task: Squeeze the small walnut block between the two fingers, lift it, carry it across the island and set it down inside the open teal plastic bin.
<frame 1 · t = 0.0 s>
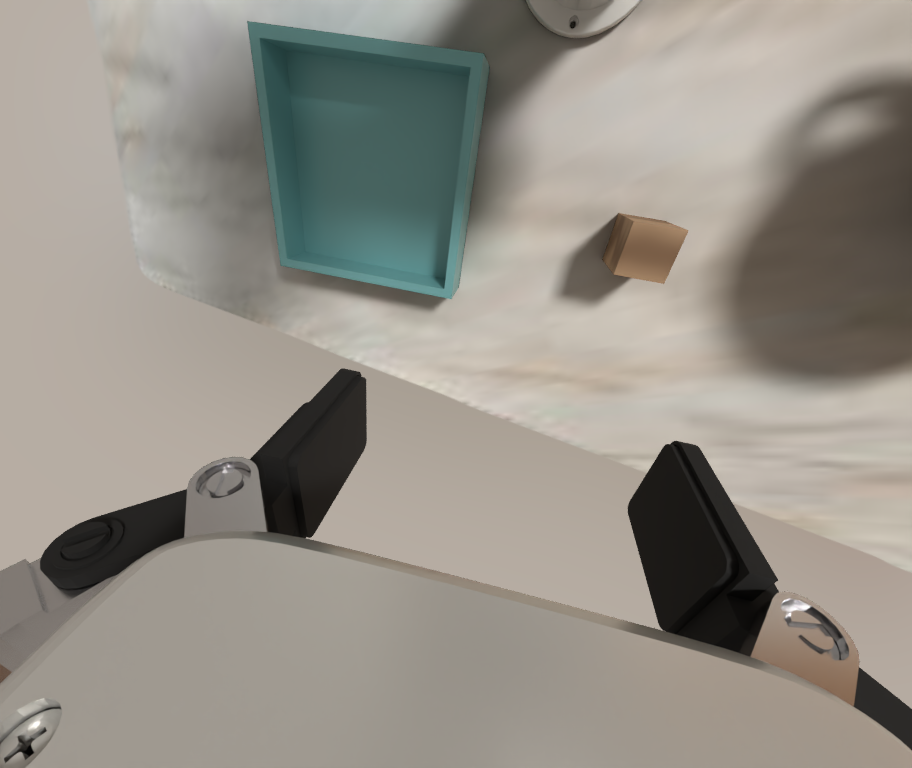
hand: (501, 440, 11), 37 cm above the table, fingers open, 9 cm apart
walnut block: (632, 240, 40), on the table
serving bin: (380, 177, 41), on the table
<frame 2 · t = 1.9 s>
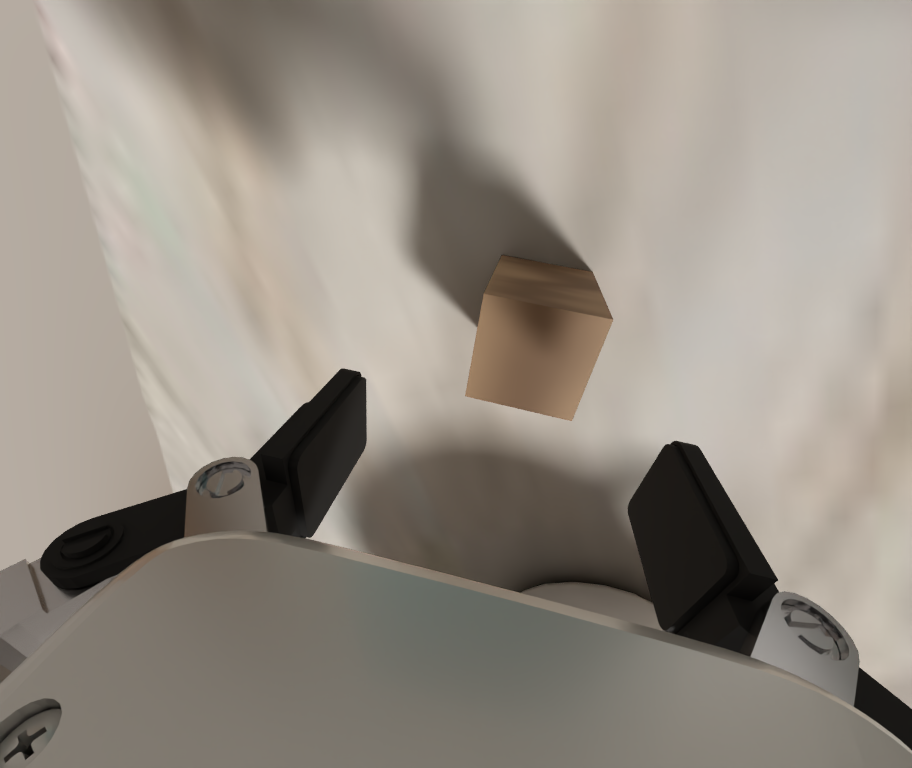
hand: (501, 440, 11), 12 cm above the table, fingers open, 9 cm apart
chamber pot: (589, 617, 37), on the table
walnut block: (534, 306, 21), on the table
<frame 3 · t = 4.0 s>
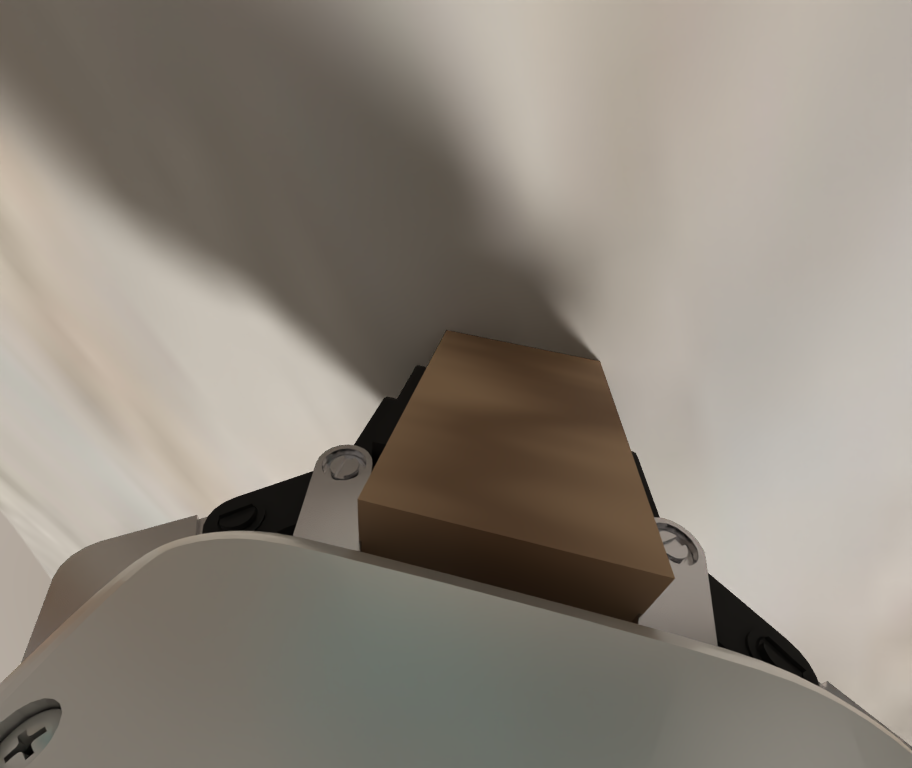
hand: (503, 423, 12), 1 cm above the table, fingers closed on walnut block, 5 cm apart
walnut block: (505, 406, 13), on the table, touching gripper
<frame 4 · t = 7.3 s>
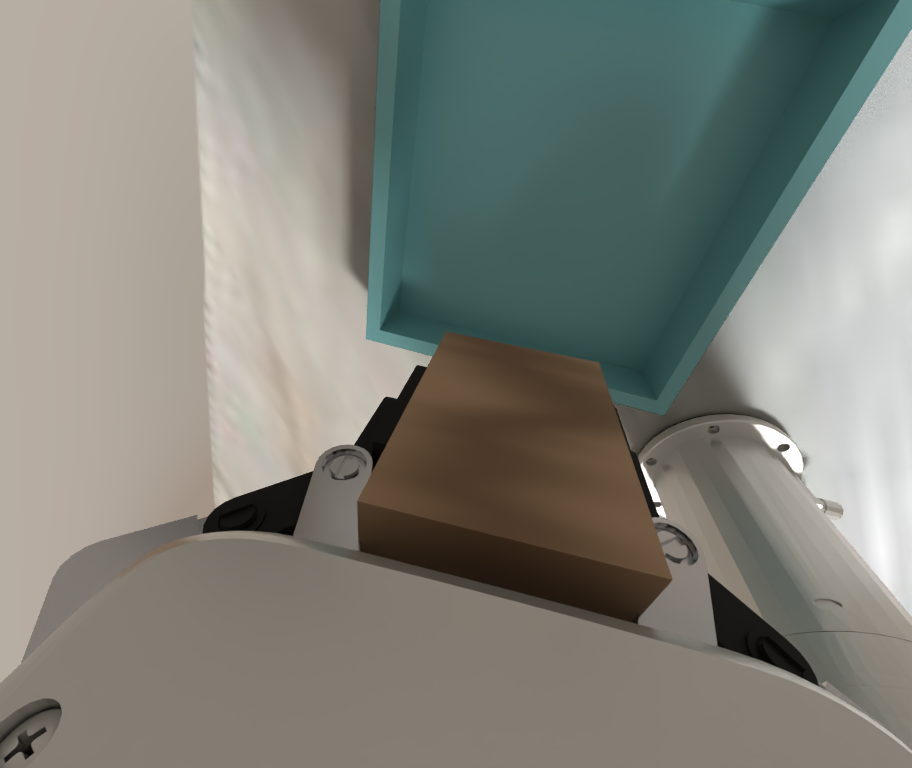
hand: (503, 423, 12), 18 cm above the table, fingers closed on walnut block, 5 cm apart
walnut block: (505, 407, 13), point 17 cm above the table, touching gripper
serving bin: (557, 202, 24), on the table
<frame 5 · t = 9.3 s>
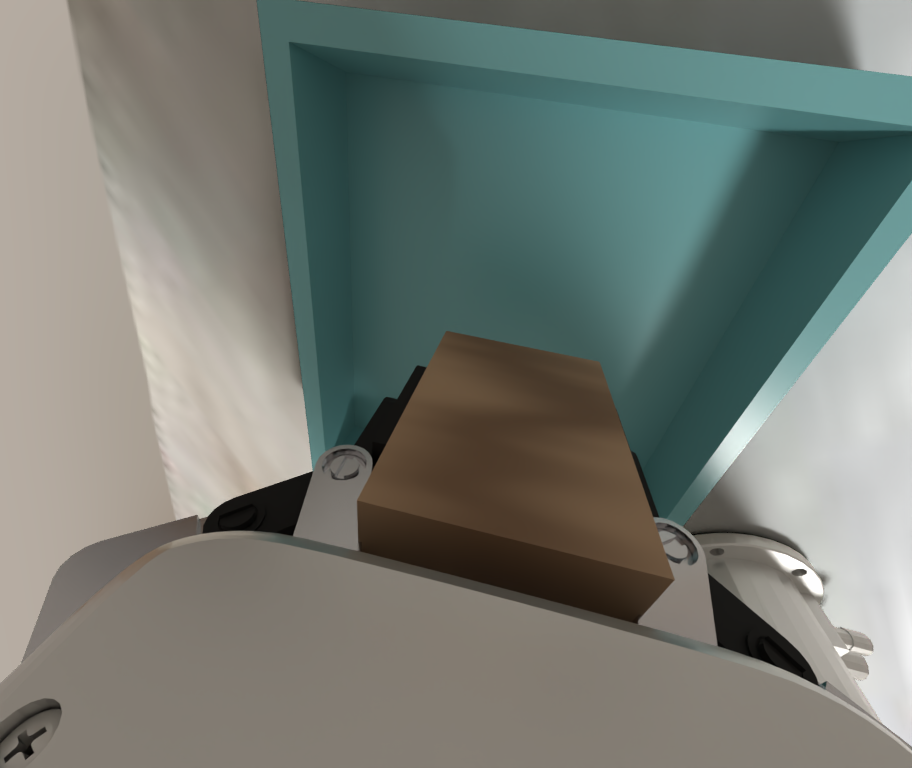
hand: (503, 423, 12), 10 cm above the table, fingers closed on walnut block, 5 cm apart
walnut block: (505, 407, 13), point 9 cm above the table, touching gripper
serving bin: (520, 324, 20), on the table
when the fingers open (4 cm above the table, at t = 10.7 s): walnut block drops 3 cm, resting on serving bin.
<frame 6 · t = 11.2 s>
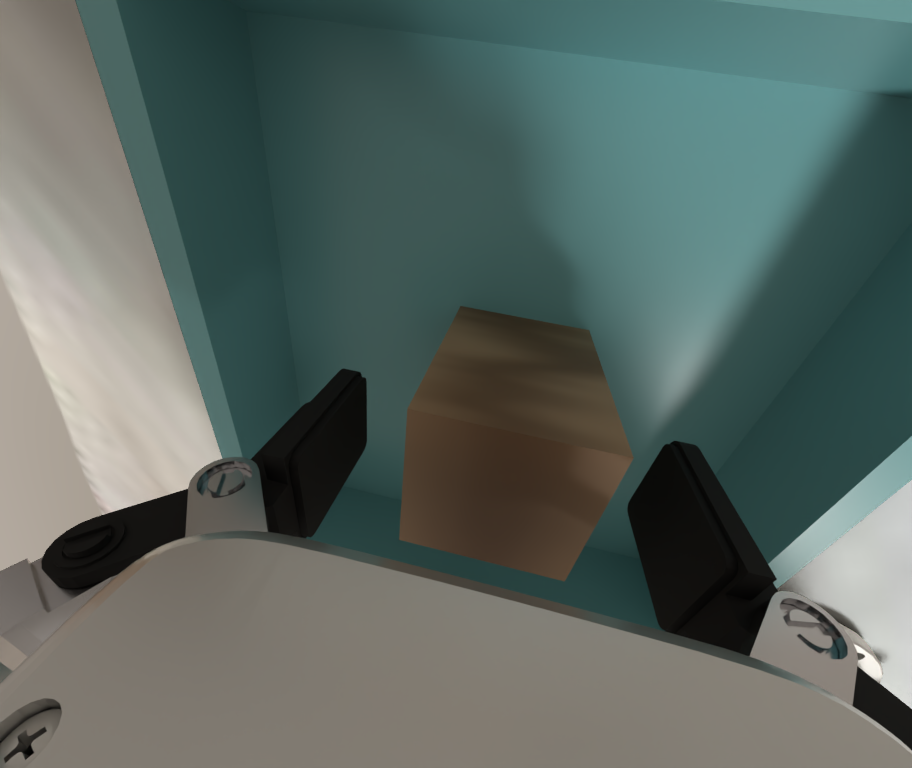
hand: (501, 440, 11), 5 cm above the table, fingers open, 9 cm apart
walnut block: (510, 372, 15), point 1 cm above the table, touching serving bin
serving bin: (510, 362, 16), on the table
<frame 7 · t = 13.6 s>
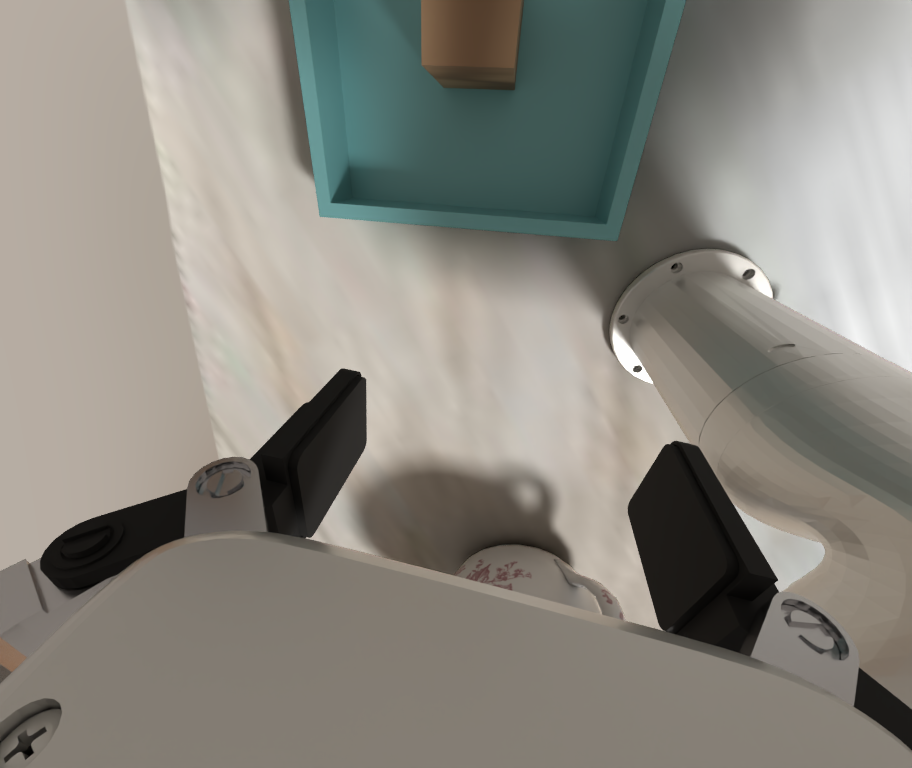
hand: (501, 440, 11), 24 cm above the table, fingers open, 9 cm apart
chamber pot: (520, 569, 57), on the table
walnut block: (481, 40, 23), point 1 cm above the table, touching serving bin
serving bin: (482, 42, 24), on the table
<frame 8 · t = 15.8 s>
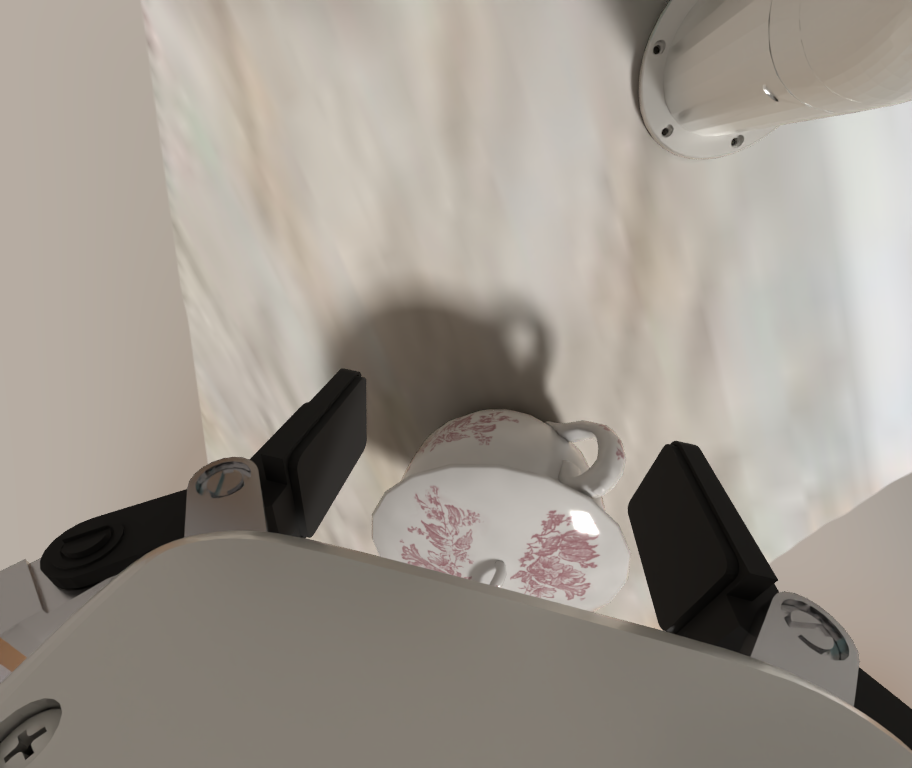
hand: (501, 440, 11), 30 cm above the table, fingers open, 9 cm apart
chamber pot: (504, 452, 51), on the table
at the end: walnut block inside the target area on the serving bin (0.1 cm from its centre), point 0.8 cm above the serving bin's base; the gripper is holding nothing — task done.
